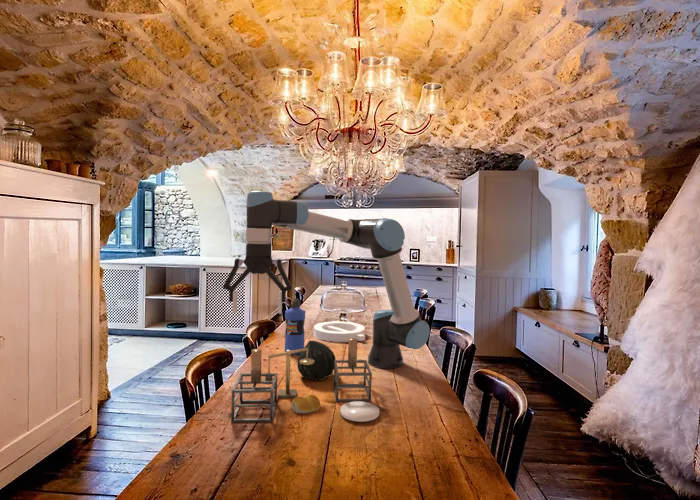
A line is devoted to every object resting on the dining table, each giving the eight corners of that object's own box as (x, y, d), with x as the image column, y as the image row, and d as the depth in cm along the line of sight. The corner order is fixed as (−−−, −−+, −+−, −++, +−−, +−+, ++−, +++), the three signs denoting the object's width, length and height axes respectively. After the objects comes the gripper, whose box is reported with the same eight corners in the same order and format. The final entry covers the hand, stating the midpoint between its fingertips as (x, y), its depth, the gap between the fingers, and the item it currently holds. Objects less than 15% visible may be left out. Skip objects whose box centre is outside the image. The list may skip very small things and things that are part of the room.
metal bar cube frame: (365, 385, 143) (367, 334, 142) (371, 401, 129) (372, 344, 128) (333, 385, 142) (334, 334, 141) (335, 401, 128) (337, 344, 127)
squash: (348, 361, 152) (326, 330, 156) (330, 375, 139) (306, 340, 142) (324, 380, 158) (303, 349, 161) (304, 394, 144) (282, 360, 147)
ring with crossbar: (365, 343, 200) (365, 334, 200) (310, 341, 200) (311, 332, 200) (364, 330, 228) (364, 322, 227) (316, 328, 228) (316, 320, 228)
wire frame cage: (276, 401, 127) (278, 344, 126) (272, 421, 113) (273, 357, 112) (239, 402, 126) (241, 343, 125) (230, 422, 112) (232, 357, 111)
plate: (375, 405, 126) (376, 401, 126) (382, 423, 114) (382, 418, 114) (338, 406, 125) (339, 401, 125) (341, 424, 113) (341, 419, 113)
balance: (313, 391, 136) (314, 345, 135) (313, 397, 131) (314, 349, 130) (261, 392, 134) (262, 345, 133) (259, 398, 129) (260, 349, 128)
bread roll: (324, 410, 122) (325, 397, 122) (298, 416, 117) (299, 403, 117) (312, 400, 129) (312, 388, 129) (287, 406, 124) (287, 394, 124)
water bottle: (298, 356, 175) (300, 300, 174) (280, 353, 178) (281, 299, 177) (307, 350, 184) (309, 297, 183) (290, 348, 187) (291, 296, 186)
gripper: (300, 243, 122) (299, 310, 123) (219, 241, 120) (218, 309, 121) (300, 244, 115) (298, 315, 116) (213, 242, 113) (212, 314, 113)
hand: (257, 312), depth 118 cm, fingers open, 13 cm apart
